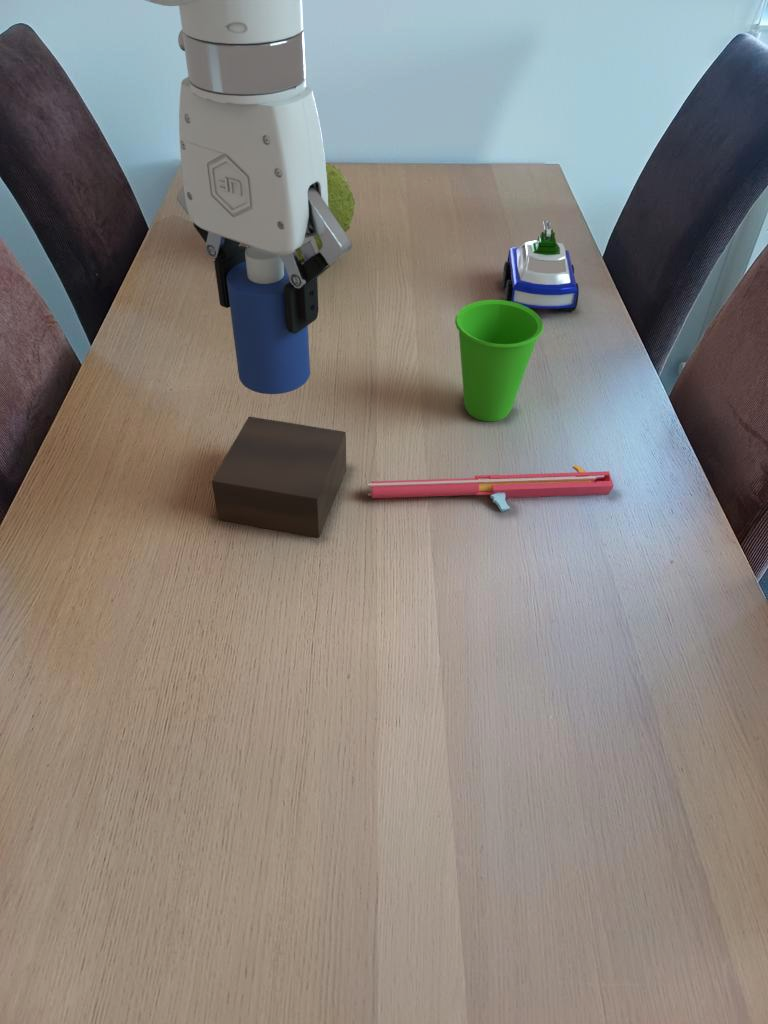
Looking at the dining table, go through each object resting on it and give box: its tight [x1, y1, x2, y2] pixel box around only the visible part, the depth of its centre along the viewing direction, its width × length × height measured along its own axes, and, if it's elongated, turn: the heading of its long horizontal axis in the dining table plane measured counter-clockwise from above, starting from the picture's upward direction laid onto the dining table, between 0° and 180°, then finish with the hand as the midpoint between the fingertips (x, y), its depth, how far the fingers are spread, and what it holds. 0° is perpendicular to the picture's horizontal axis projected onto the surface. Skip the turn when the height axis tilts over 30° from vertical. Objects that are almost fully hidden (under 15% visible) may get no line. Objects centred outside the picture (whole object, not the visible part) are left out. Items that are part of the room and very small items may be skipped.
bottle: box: [227, 246, 311, 395], centre depth 64 cm, size 6×6×11 cm
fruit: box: [296, 162, 356, 261], centre depth 112 cm, size 16×14×15 cm
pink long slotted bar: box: [367, 464, 614, 513], centre depth 79 cm, size 24×2×5 cm
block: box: [211, 416, 347, 539], centre depth 77 cm, size 10×10×5 cm
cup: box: [454, 299, 544, 422], centre depth 86 cm, size 9×9×11 cm
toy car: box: [502, 220, 580, 312], centre depth 105 cm, size 9×12×10 cm
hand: (268, 310), depth 64 cm, fingers closed on bottle, 6 cm apart
